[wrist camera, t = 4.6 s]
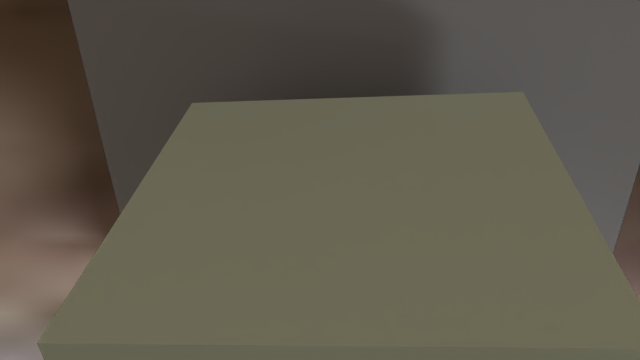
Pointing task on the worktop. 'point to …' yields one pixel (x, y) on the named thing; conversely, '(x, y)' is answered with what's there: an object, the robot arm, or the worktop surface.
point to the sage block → (353, 241)
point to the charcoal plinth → (371, 70)
